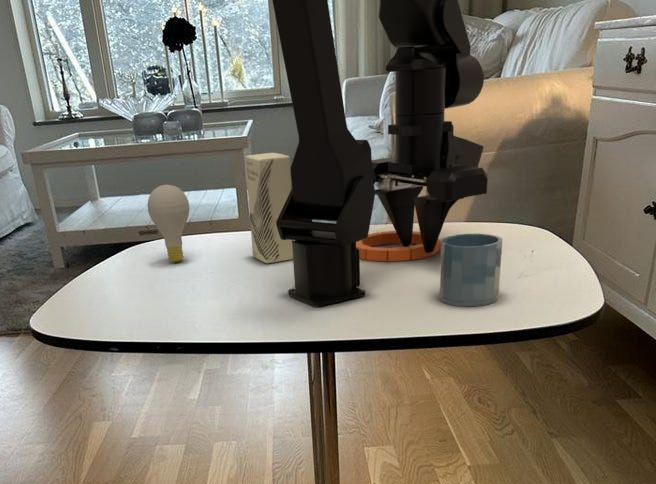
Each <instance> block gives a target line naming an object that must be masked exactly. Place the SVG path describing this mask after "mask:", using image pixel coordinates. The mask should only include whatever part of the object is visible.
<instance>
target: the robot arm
mask: <svg viewBox="0 0 656 484" xmlns="http://www.w3.org/2000/svg"><path fill="white" fill-rule="evenodd" d="M271 2H272V6H273V7H272V8H273V11H274V17H275V22H276V27H277V32H278V38H279V43H280V48H281V53H282V57H283V64H284V69H285V74H286V79H287V84H288V89H289V94H290V100H291V104H292V110H293V114H294V115H293V116H294V120H295V124H296V131H297V136H298V143H297V145H296V149H295V152H294V154H293V158H292V160H291V163H290V172H291V191H290V194H289V196H288V198H287V200H286V202H285V204H284V206H283V208H282V210H281V212H280V215H279V217H278V219H277V221H276V226H277V229H278V232H279V235H280V238H281V240H294V241H292V250H293V259H292V264H293V265H292V266H293V281H294V288H291V289H288V296H291V297H293V298H296V299H298V300H299V301H303V302H305V303H307V304H309V305H311V306H313V307H321V306H326V305H329V304H334V303H338V302H342V301H347V300H350V299H351V300H352V299H355V298H360V297H364V296H366V290H364V289H362V288H359V287H360V286H361V264H360V263H361V262H360V261H361V260H360V259H361V258H360V255H359V250H358V249H357V248H356V242H357V241H360V240H363V239H365V238H367V237H368V234H370V228H371V221H372V215H373V209H374V204H375V200H376V199H375V198H376V196H377V198H378V199H379V201H380V203H381V205H382V207H383V209H384V210H385V212H386V214H387V216H388V218H389V220H390V222H391V224H392V227H393V229H394V231H396V233H397V235H398V237H399V239H400V242H401V243H400V244H401V246H402V247H409V246H412V244H411V241H412V234H413V231H414V220H415V214H416V218H417V223H418V229H419V232H420V234H421V239H422V243H423V247H424V250H425V252H426V253H430V252H433V251H434V249H435V246H436V243H437V240H438V239H439V238H440V235H441V232H442V229H443V226H444V224H445V221H446V218H447V216H448V213H449V212H450V210H451V208H452V207H453V206H454V205H455V204H456V203H457V202H458V201H460V200H463V199H464V198H469V197H475V196H480V195H485V194H487V193H488V183H489V182H488V181H489V174H488V173H487V172H486V171H485V169H484V168H483V167H480V166H479V165H480V161H481V158H482V155H483V151H484V148H485V146H484V145H482V144H480V143H476V142H474V141H471V140H469V139H466V138H463V137H459V136H456V135H455V134H454V129H455V127H454V124H453V121H452V120H445V110H447V109H451V108H457V107H463V106H466V105H469V104H471V103H473V102H475V100H476V99H477V98H478V97H479V95H480V94H481V92H482V89H483V87H484V82H485V73H484V71H483V67H482V64H481V63H480V61H479V60H478V59H477V58H476V57H475V56H474V55H472V54H471V47H472V46H471V43H470V40H469V35H468V32H467V28H466V25H465V21H464V18H463V14H462V11H461V7H460V4H459V0H379V7H378V19H379V21H380V23H381V26H382V28H383V30H384V32H385V34H386V37H387V39H388V40H389V42H390V44H391V45H392V47H394V48H396V52H395V53H394V55H392V56H393V57H391V58H390V59H389V60H388V62H387V63H386V65H385V71H386V72H387V73H394V74H395V75H394V76H395V78H394V79H395V82H394V84H395V85H394V86H395V87H394V91H395V95H394V96H395V97H394V98H395V101H394V102H395V103H394V104H395V105H394V106H395V109H394V110H395V112H394V114H395V115H394V116H395V117H394V118H395V119H394V123H392V124H387V135H392V136H393V135H394V136H395V137H394V138H395V139H394V140H395V142H394V146H395V148H394V152H395V154H394V157H392V156H391V157H383V158H377V159H372V157H373V156H372V147H371V145H370V143H369V142H370V141H368V139H356V138H355V137H354V135H353V134H352V133H351V131H350V130H349V128H348V124H347V119H346V118H347V117H346V111H345V105H344V99H343V93H342V85H341V80H340V72H339V67H338V59H337V54H336V46H335V40H334V33H333V27H332V20H331V14H330V8H329V1H328V0H271ZM376 183H378V189H377V188H375V184H376ZM424 187H426V190H425V195H421V196H419V195H420V194H421V193H422V190H423V189H424ZM323 221H324V222H323ZM334 222H335V223H334Z"/></svg>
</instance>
